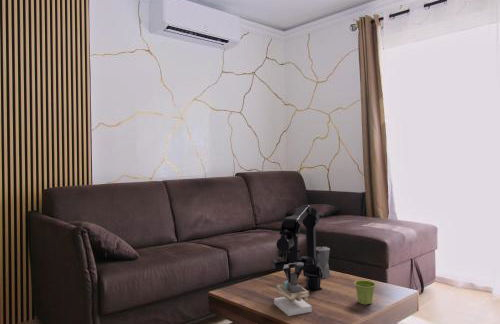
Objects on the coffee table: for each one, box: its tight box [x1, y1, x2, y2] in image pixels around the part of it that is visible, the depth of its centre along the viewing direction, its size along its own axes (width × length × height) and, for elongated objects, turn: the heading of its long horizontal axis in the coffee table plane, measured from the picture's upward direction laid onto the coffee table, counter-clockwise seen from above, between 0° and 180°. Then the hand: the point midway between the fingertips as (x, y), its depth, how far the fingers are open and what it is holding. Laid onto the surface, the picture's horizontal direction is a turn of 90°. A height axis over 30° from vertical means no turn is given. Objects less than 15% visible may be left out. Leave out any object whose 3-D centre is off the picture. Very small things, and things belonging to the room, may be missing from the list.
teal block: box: [283, 280, 288, 290], centre depth 182 cm, size 4×3×3 cm
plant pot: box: [354, 279, 377, 305], centre depth 184 cm, size 9×9×9 cm
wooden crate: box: [276, 271, 310, 302], centre depth 179 cm, size 9×13×10 cm
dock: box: [273, 296, 313, 317], centre depth 179 cm, size 11×15×2 cm
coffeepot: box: [316, 242, 331, 279], centre depth 224 cm, size 15×9×18 cm, turn 147°
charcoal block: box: [290, 283, 303, 293], centre depth 176 cm, size 4×3×3 cm
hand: (292, 281), depth 179 cm, fingers closed on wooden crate, 3 cm apart
